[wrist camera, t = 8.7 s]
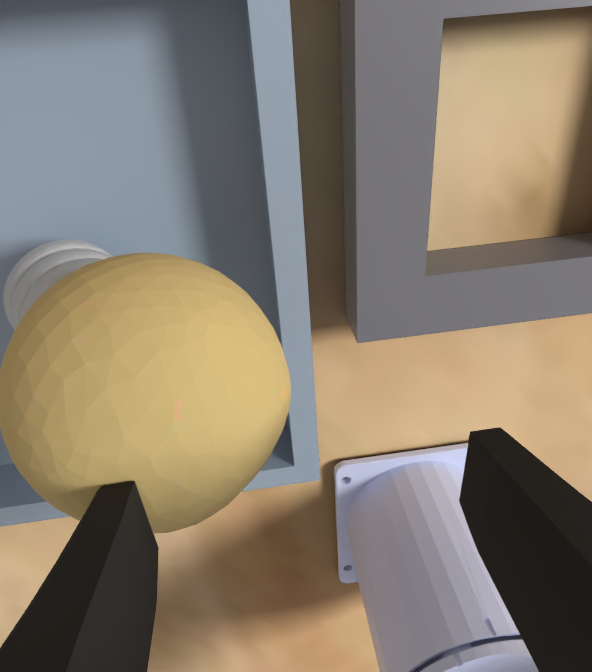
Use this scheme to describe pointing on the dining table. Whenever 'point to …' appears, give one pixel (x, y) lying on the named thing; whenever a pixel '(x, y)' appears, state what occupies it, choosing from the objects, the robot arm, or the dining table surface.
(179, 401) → the light bulb
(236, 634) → the dining table surface
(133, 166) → the parts tray
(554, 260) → the socket block
